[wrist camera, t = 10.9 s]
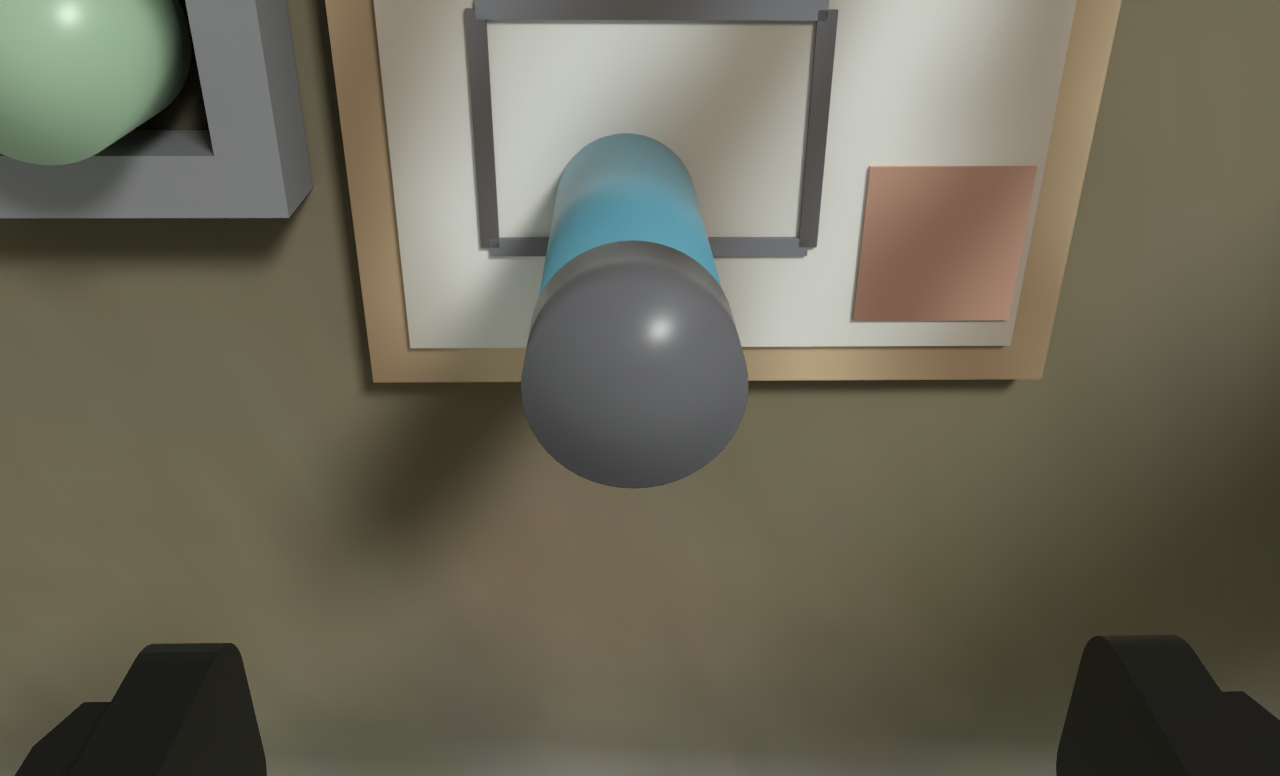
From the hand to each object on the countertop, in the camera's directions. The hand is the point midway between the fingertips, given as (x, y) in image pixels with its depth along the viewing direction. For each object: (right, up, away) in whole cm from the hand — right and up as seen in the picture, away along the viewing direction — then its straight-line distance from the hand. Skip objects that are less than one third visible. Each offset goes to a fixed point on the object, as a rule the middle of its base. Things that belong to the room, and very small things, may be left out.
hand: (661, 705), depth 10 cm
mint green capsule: (-11, +11, +12) cm, 19 cm away
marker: (0, +7, +13) cm, 15 cm away
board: (+2, +9, +13) cm, 16 cm away
